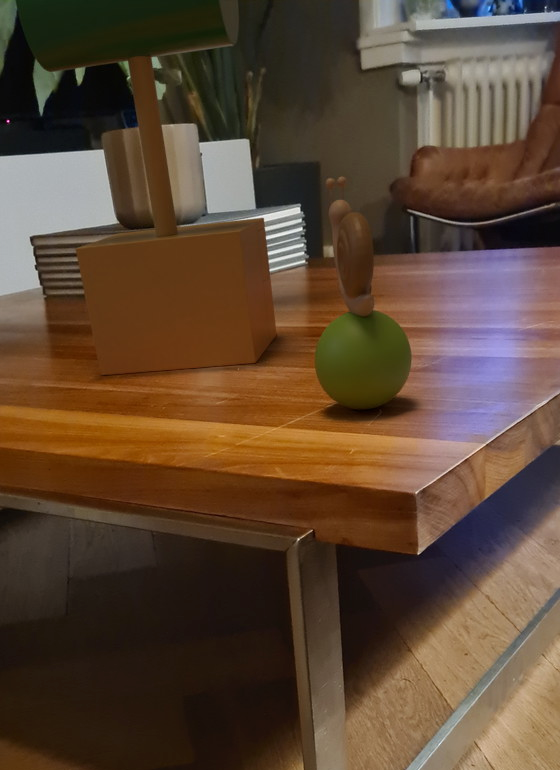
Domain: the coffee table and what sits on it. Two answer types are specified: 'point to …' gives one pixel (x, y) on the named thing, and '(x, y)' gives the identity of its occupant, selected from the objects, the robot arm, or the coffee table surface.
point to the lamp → (160, 202)
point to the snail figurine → (359, 322)
